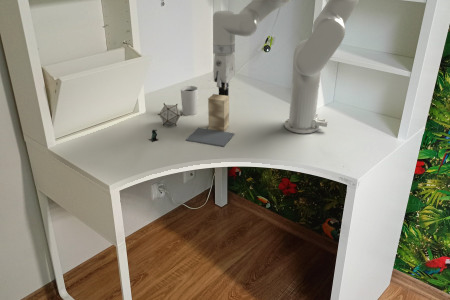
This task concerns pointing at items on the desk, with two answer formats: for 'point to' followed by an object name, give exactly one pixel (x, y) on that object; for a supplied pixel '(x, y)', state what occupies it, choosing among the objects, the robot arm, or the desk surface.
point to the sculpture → (153, 136)
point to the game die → (170, 114)
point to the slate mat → (210, 137)
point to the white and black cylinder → (189, 100)
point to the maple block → (218, 112)
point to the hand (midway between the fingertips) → (223, 98)
